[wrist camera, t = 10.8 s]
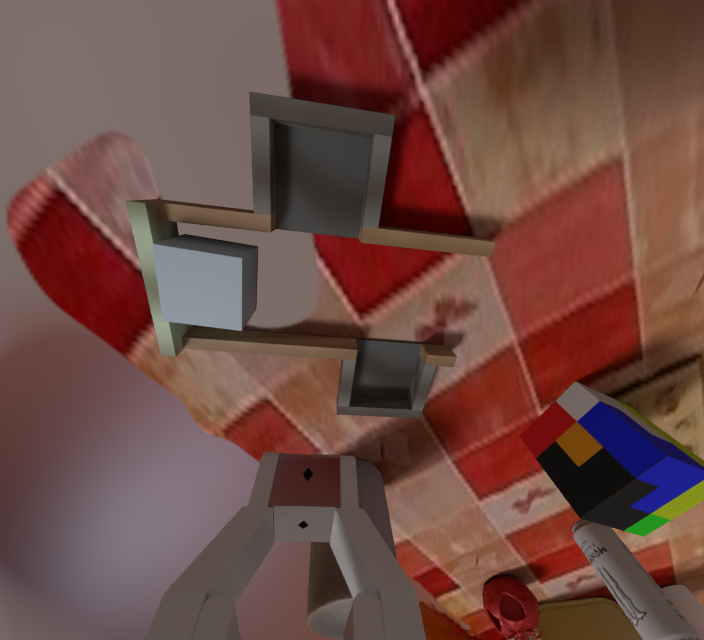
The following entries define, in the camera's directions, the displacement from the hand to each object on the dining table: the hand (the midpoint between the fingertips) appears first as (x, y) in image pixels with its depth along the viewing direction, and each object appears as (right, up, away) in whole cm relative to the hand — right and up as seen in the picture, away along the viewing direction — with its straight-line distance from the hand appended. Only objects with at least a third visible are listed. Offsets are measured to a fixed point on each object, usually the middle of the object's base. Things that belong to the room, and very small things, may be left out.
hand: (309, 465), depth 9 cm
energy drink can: (+42, -31, +38) cm, 65 cm away
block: (-10, +9, +15) cm, 20 cm away
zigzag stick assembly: (-1, +8, +16) cm, 18 cm away
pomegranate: (+32, -49, +46) cm, 75 cm away
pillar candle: (+1, -18, +29) cm, 34 cm away
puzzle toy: (+30, -8, +26) cm, 41 cm away
